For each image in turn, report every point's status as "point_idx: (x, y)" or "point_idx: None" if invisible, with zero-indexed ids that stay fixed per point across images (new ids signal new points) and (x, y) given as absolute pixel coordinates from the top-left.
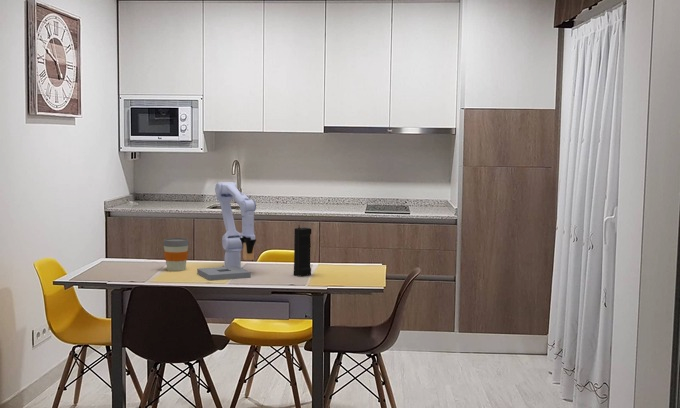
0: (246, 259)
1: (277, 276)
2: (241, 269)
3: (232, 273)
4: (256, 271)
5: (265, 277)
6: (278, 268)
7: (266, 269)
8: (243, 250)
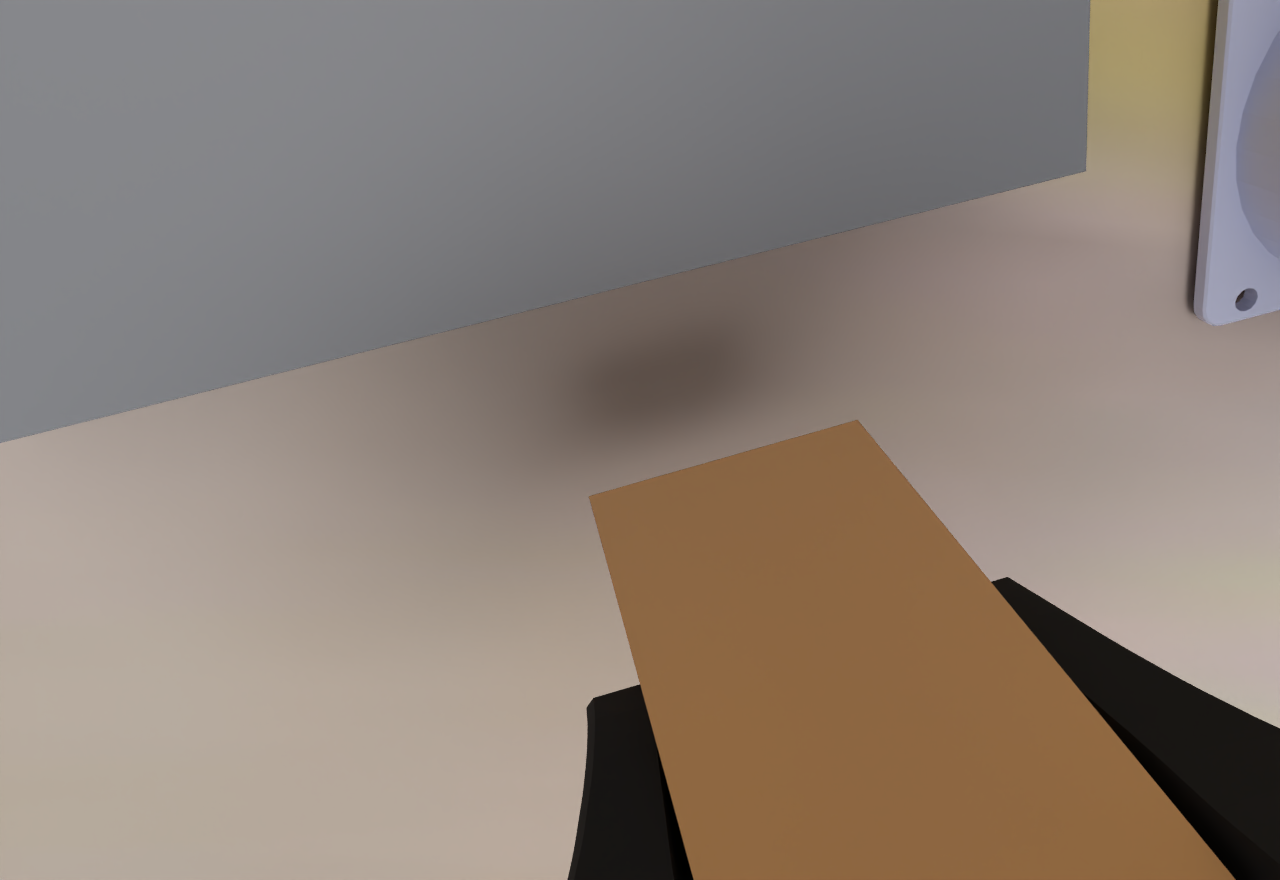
0: (594, 516)
1: (146, 868)
2: (451, 241)
3: None
4: None
5: (17, 683)
6: None
7: None
8: (975, 601)
